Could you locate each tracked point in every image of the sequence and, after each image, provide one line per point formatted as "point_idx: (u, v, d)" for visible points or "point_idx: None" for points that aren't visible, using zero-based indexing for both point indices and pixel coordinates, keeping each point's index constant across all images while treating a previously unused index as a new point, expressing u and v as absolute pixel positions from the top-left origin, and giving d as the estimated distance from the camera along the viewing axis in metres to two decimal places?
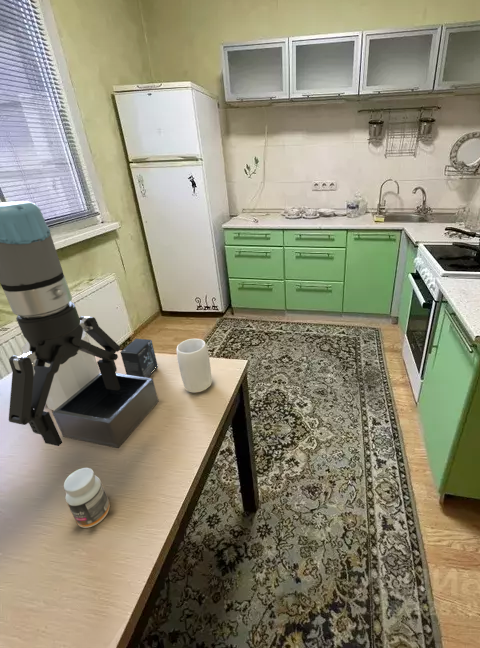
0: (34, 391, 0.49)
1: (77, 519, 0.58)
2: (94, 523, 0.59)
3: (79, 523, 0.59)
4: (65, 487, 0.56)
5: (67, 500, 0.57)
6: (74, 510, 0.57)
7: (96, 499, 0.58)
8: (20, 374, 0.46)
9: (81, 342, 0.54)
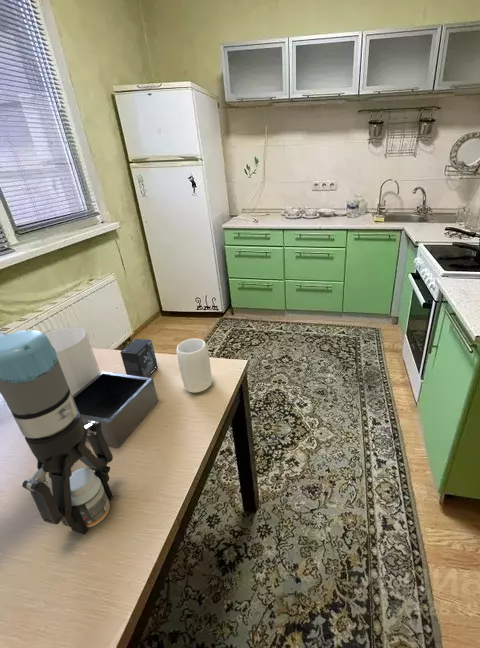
0: (57, 495, 0.54)
1: None
2: (94, 523, 0.59)
3: None
4: None
5: None
6: None
7: (96, 499, 0.58)
8: (37, 494, 0.50)
9: None
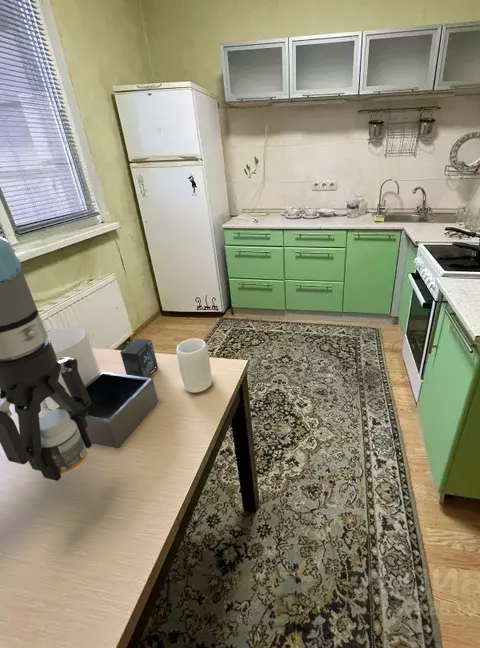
0: (24, 433, 0.48)
1: None
2: (68, 470, 0.53)
3: None
4: None
5: None
6: None
7: (70, 442, 0.52)
8: None
9: None
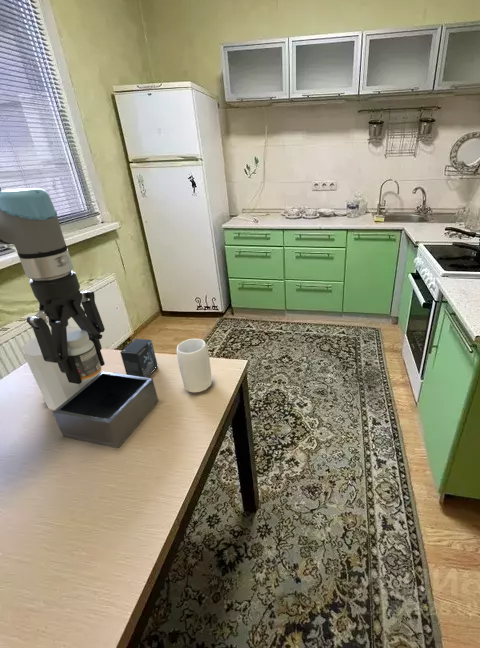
0: (55, 341, 0.64)
1: None
2: (87, 377, 0.69)
3: None
4: None
5: None
6: None
7: (89, 355, 0.68)
8: (39, 330, 0.60)
9: None
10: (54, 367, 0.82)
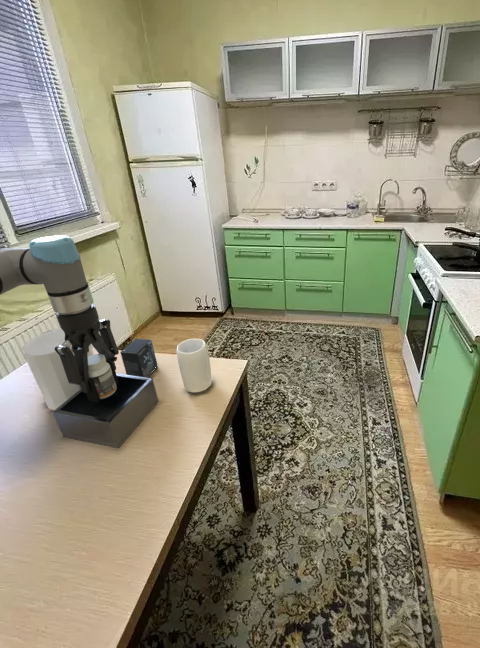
0: (78, 365, 0.73)
1: None
2: (105, 395, 0.78)
3: None
4: None
5: None
6: None
7: (106, 376, 0.77)
8: (65, 357, 0.69)
9: None
10: (54, 367, 0.82)
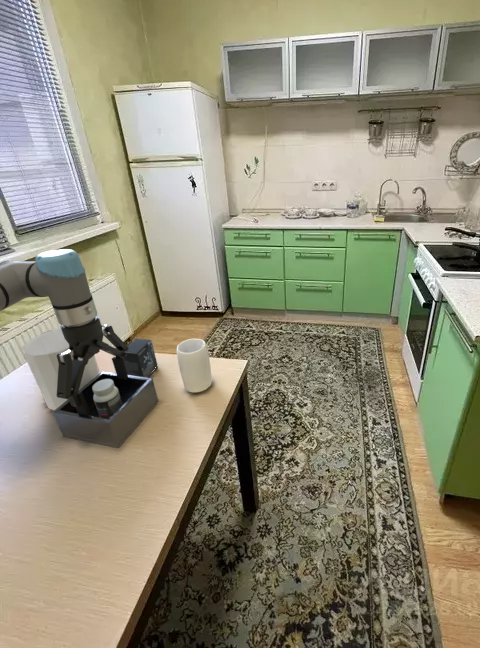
0: (72, 377, 0.72)
1: (101, 414, 0.80)
2: None
3: None
4: (93, 389, 0.78)
5: (94, 399, 0.79)
6: (99, 406, 0.79)
7: (115, 400, 0.80)
8: (64, 365, 0.69)
9: (102, 343, 0.77)
10: (54, 367, 0.82)
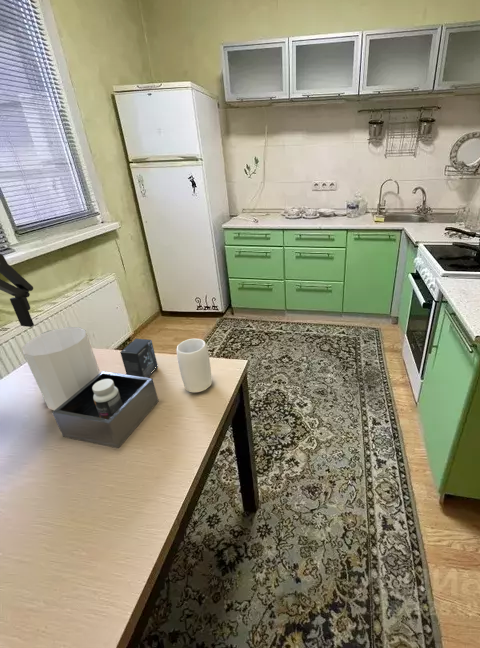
0: None
1: (101, 414, 0.80)
2: None
3: None
4: (93, 389, 0.78)
5: (94, 399, 0.79)
6: (99, 406, 0.79)
7: (115, 400, 0.80)
8: None
9: None
10: (54, 367, 0.82)
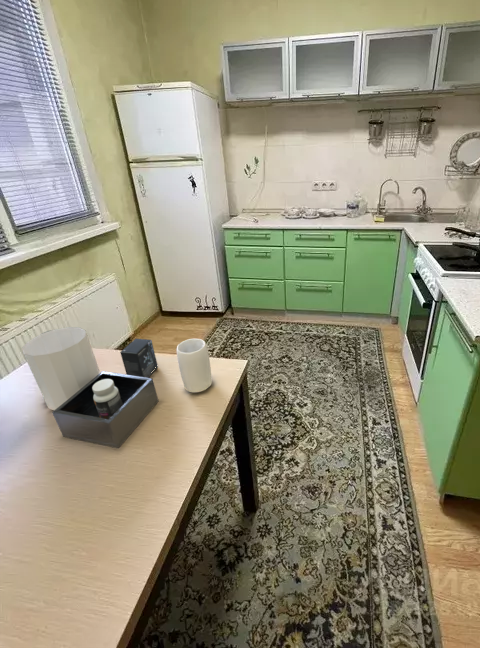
0: None
1: (101, 414, 0.80)
2: None
3: None
4: (93, 389, 0.78)
5: (94, 399, 0.79)
6: (99, 406, 0.79)
7: (115, 400, 0.80)
8: None
9: None
10: (54, 367, 0.82)
